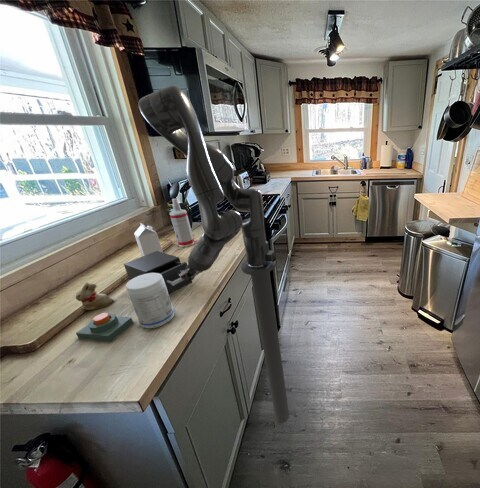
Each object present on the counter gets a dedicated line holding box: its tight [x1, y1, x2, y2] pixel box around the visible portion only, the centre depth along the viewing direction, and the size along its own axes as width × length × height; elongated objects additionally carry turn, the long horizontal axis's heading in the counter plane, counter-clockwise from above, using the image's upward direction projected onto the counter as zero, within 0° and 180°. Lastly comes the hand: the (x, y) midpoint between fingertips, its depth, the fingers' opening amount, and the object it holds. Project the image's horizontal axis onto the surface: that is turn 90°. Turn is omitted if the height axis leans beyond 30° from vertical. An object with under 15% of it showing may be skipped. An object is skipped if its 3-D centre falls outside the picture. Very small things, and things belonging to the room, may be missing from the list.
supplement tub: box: [125, 273, 175, 329], centre depth 80 cm, size 10×10×15 cm
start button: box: [92, 312, 110, 325], centre depth 77 cm, size 4×4×2 cm
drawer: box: [149, 261, 193, 296], centre depth 97 cm, size 18×11×9 cm, turn 62°
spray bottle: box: [169, 198, 196, 248], centre depth 135 cm, size 8×8×25 cm
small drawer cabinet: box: [123, 251, 181, 281], centre depth 101 cm, size 15×13×11 cm
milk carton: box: [133, 222, 164, 257], centre depth 117 cm, size 7×7×19 cm
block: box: [75, 312, 134, 343], centre depth 78 cm, size 11×8×4 cm
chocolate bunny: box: [75, 281, 114, 311], centre depth 89 cm, size 6×8×10 cm
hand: (188, 279), depth 92 cm, fingers closed
